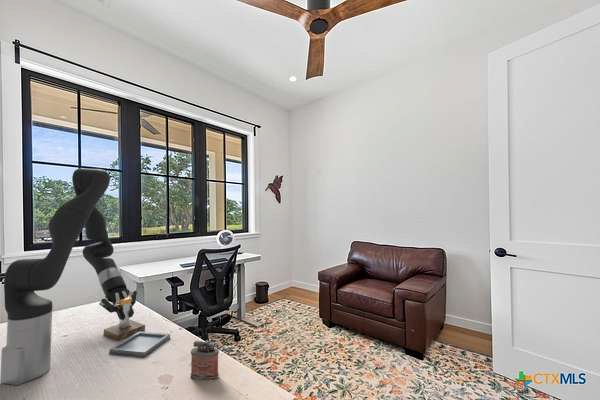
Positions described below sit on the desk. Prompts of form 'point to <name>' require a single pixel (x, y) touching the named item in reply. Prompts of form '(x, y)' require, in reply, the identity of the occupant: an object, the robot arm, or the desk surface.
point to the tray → (140, 344)
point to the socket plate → (121, 334)
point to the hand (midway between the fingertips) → (127, 317)
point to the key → (125, 312)
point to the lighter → (204, 361)
